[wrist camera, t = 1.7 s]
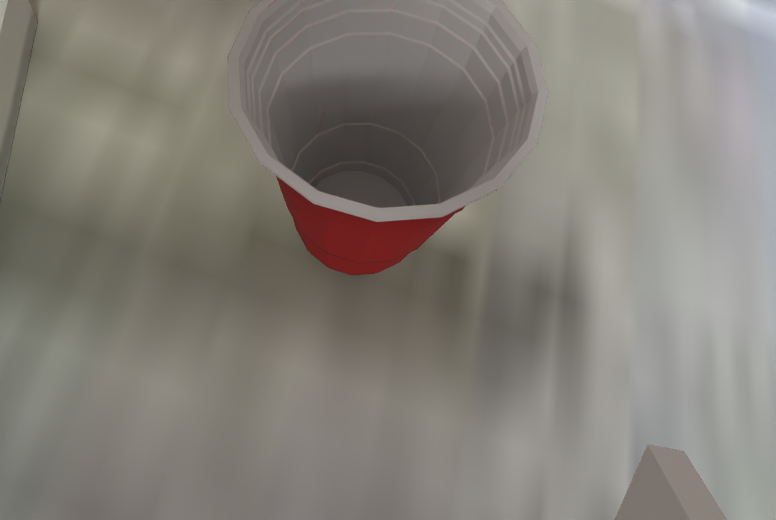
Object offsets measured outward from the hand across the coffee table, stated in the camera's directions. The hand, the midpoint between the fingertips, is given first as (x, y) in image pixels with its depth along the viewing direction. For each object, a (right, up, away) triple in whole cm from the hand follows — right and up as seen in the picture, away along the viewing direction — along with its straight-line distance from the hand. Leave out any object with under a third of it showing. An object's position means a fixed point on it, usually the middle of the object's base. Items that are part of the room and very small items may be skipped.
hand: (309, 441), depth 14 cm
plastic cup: (0, +5, +21) cm, 22 cm away
